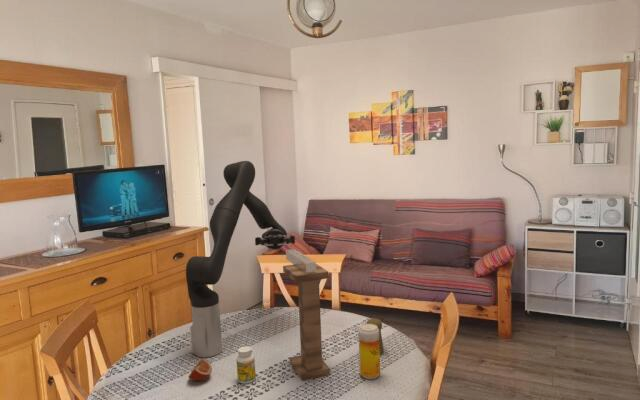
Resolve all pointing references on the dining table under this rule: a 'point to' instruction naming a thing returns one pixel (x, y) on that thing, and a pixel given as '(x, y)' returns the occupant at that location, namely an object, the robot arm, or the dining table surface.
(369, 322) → the cork
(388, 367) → the dining table surface
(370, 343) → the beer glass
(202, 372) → the fruit slice
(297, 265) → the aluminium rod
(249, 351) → the supplement bottle
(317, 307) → the walnut stand
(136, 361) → the dining table surface
